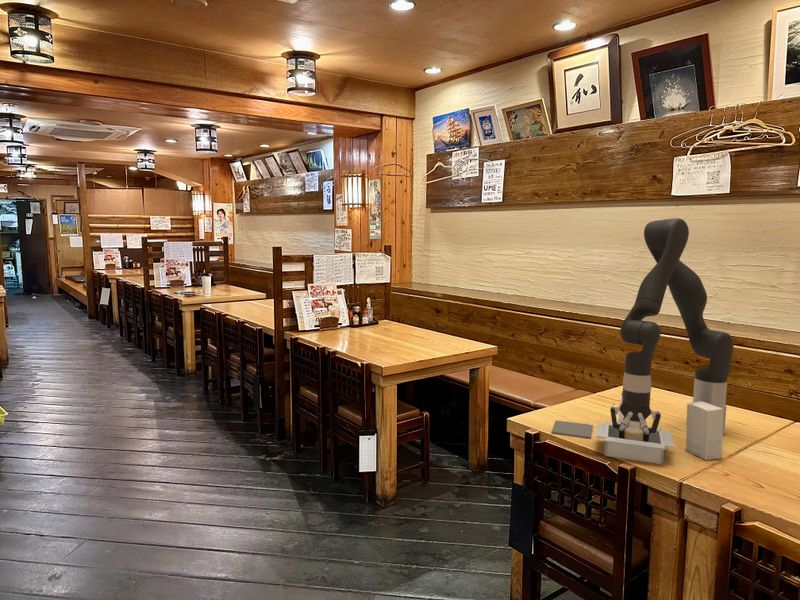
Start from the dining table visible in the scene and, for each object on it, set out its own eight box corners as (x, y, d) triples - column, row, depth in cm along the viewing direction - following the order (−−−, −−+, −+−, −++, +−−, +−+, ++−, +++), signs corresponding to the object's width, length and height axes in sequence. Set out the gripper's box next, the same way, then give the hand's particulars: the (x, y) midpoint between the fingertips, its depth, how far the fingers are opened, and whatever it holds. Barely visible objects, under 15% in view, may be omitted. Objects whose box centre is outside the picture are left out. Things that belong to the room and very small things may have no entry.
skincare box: (722, 459, 159) (726, 409, 158) (704, 461, 158) (708, 410, 156) (700, 448, 168) (704, 400, 166) (683, 449, 166) (686, 401, 164)
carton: (668, 446, 169) (670, 429, 168) (673, 469, 152) (675, 449, 152) (596, 436, 176) (597, 420, 175) (594, 457, 160) (595, 439, 159)
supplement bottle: (627, 446, 168) (629, 415, 167) (645, 452, 164) (647, 420, 163) (619, 451, 164) (621, 419, 163) (638, 457, 160) (640, 424, 159)
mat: (592, 426, 185) (592, 424, 185) (590, 439, 174) (590, 437, 174) (555, 421, 190) (555, 420, 190) (551, 433, 179) (551, 431, 178)
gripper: (662, 387, 163) (659, 443, 165) (610, 382, 168) (607, 436, 170) (664, 394, 156) (660, 452, 158) (610, 388, 161) (606, 444, 163)
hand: (633, 443), depth 164 cm, fingers closed on supplement bottle, 5 cm apart
